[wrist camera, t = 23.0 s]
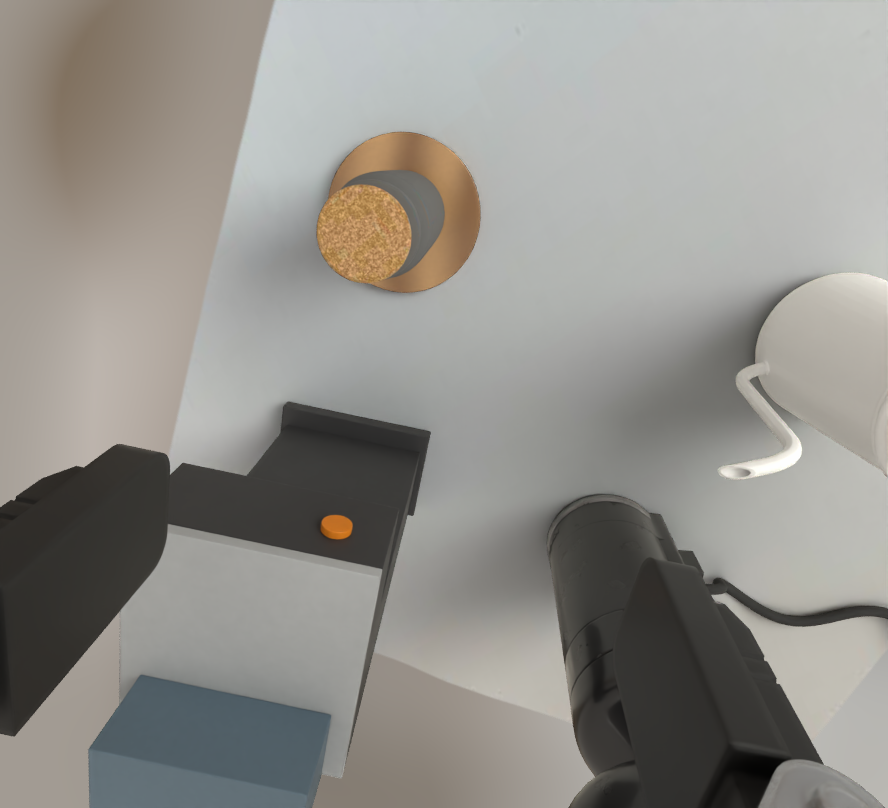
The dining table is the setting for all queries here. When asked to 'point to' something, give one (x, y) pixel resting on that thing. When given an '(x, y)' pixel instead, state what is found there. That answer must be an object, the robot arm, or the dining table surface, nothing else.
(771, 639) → the dining table surface
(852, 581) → the dining table surface
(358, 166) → the disc
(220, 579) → the coffee maker
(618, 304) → the dining table surface
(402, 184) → the bottle
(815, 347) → the coffeepot
